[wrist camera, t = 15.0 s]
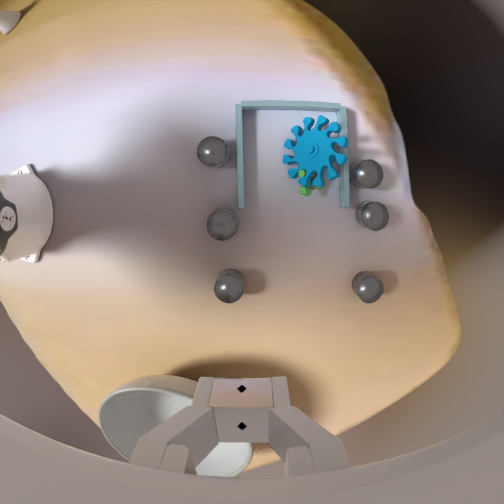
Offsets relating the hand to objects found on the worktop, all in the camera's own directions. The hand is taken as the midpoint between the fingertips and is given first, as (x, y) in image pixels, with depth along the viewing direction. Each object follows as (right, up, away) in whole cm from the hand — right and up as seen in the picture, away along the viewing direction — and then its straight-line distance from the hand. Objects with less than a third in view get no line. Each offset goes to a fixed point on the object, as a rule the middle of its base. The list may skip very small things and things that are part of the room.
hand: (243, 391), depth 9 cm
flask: (-60, +63, +21) cm, 89 cm away
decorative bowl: (-13, -24, +40) cm, 48 cm away
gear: (+8, +19, +30) cm, 36 cm away
